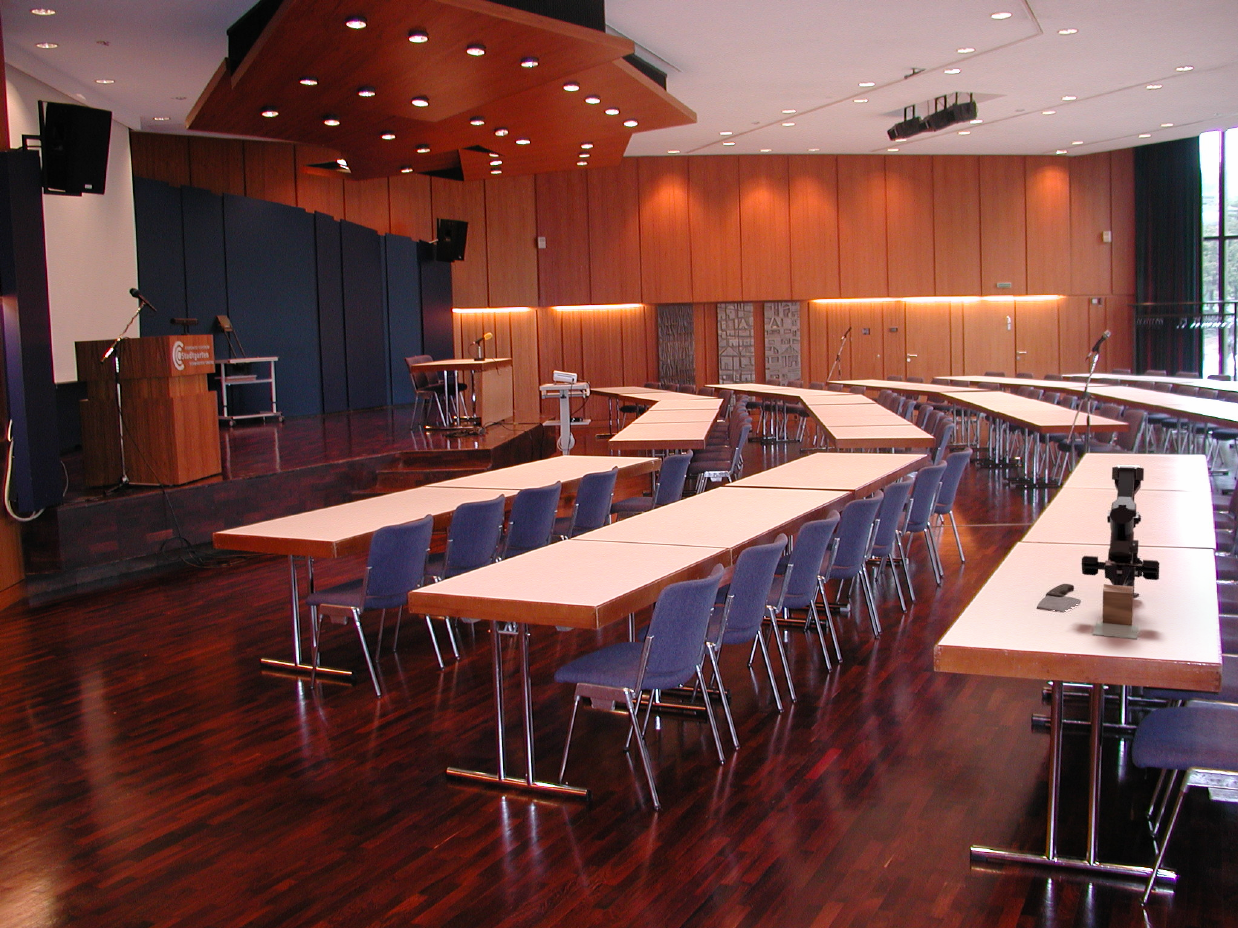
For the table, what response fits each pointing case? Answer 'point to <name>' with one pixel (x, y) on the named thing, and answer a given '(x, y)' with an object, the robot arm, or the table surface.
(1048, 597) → the cleaver
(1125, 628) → the mat
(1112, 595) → the slab
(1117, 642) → the table surface
